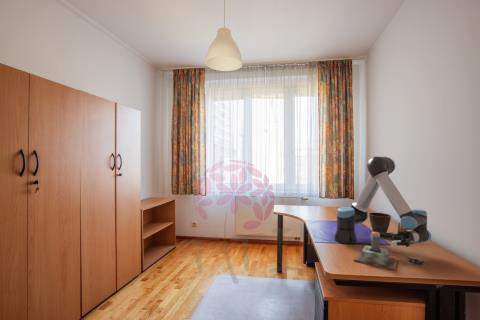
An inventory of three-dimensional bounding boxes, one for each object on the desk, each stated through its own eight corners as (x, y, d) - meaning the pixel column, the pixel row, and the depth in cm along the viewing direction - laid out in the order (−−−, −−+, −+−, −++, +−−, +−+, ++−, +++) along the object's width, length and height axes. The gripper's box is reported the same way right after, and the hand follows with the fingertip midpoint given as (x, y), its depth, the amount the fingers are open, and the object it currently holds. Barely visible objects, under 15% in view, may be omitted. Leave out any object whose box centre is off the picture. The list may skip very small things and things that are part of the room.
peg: (370, 259, 138) (371, 232, 138) (371, 257, 141) (372, 231, 141) (378, 261, 136) (379, 234, 136) (379, 258, 139) (379, 232, 139)
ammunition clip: (415, 240, 176) (415, 224, 176) (414, 241, 175) (414, 224, 175) (398, 237, 184) (398, 221, 184) (397, 237, 183) (397, 221, 183)
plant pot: (391, 239, 179) (392, 217, 179) (368, 236, 186) (369, 215, 186) (389, 234, 193) (389, 213, 193) (368, 231, 199) (368, 211, 200)
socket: (353, 261, 138) (353, 250, 138) (358, 252, 151) (358, 243, 151) (395, 270, 126) (395, 259, 126) (397, 260, 139) (397, 250, 139)
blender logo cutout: (404, 258, 144) (404, 257, 144) (418, 259, 143) (418, 258, 143) (412, 264, 135) (412, 263, 135) (428, 266, 133) (428, 264, 133)
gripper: (429, 250, 134) (401, 254, 127) (389, 237, 158) (363, 240, 151) (429, 236, 134) (401, 240, 127) (389, 225, 158) (363, 228, 151)
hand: (380, 240), depth 139 cm, fingers open, 13 cm apart
